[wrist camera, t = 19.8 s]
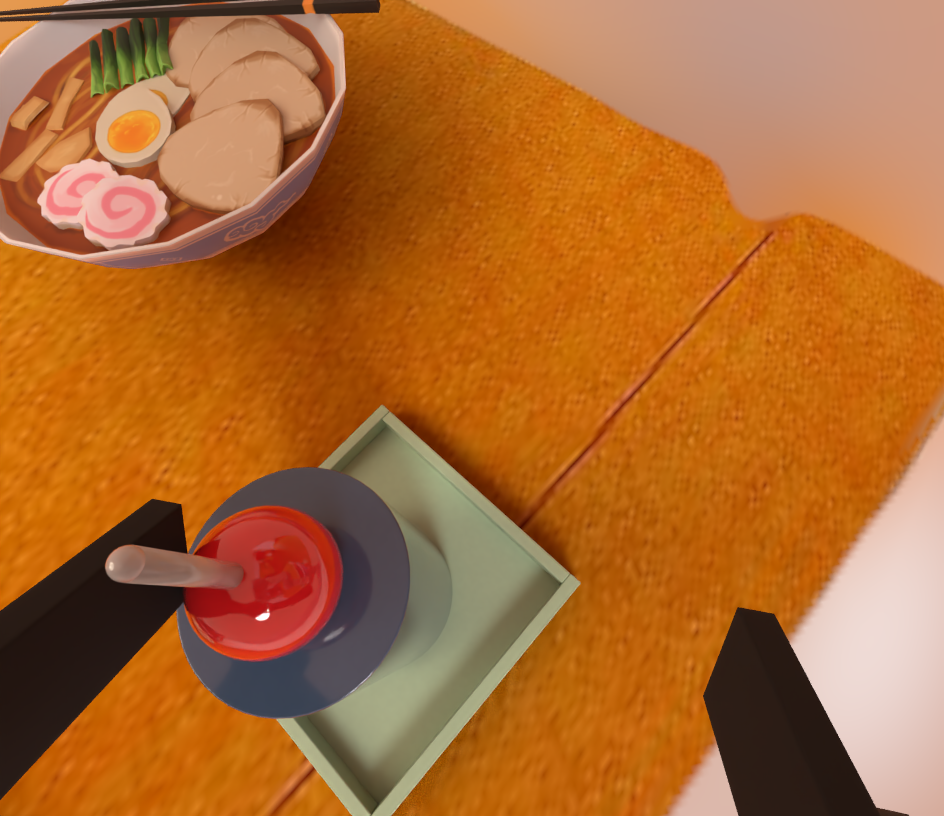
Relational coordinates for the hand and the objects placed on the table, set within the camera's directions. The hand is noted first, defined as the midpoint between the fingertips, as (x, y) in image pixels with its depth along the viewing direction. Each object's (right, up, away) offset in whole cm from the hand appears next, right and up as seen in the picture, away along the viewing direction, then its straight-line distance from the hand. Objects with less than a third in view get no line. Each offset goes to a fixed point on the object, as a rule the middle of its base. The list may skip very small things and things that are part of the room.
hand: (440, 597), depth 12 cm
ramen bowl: (-17, +20, +24) cm, 35 cm away
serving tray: (-3, -5, +13) cm, 14 cm away
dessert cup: (-4, -4, +13) cm, 14 cm away
